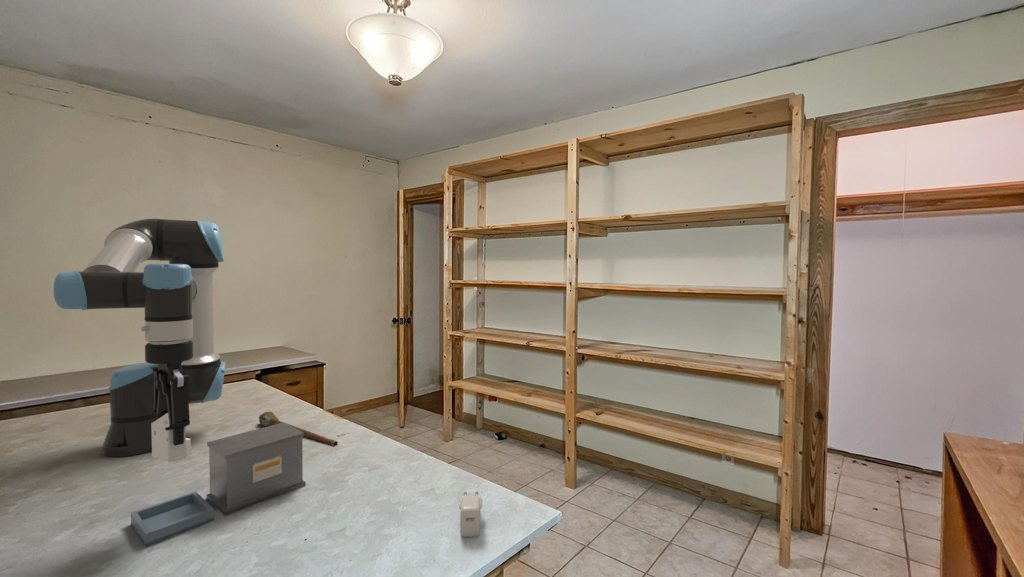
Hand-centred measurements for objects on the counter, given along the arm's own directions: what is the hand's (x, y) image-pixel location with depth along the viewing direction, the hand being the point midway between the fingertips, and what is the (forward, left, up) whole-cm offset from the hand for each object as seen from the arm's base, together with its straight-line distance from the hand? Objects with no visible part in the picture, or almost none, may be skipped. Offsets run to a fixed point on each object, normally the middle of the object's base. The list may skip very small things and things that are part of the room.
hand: (171, 454), depth 88 cm
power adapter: (+46, +39, -14) cm, 62 cm away
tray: (0, 0, -14) cm, 14 cm away
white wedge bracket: (0, 0, 0) cm, 0 cm away
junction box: (0, +16, -14) cm, 21 cm away
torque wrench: (-28, +38, -15) cm, 49 cm away
